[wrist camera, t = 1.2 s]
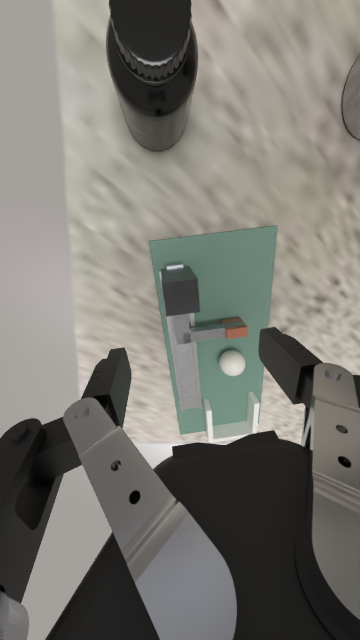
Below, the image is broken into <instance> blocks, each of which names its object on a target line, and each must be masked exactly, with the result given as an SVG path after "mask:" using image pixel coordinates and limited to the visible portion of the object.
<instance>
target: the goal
mask: <svg viewBox="0 0 360 640" xmlns="http://www.w3.org/2000/svg"><path fill="white" fill-rule="evenodd" d="M259 404H260V403H259V401H258V399H257V398H256V396H255V394H254V392H248V409H247V421H244V422H237V423H230V424H224V425H217V426H212V410H211V406H210V403H209V399H208V398H206V399H204V412H205V425H206V433H207V437H208V442H209V443H213V442H219V441H226V440H232V439H239V438H243V437H245V436H247V435H249V434H254V433H257V426H258V415H259Z"/></svg>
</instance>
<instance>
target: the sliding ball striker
mask: <svg viewBox="0 0 360 640" xmlns="http://www.w3.org/2000/svg"><path fill="white" fill-rule="evenodd" d="M161 284H162V291H163V298H164V304H165V311H166V317H168V316H173V319H174V327H175V334H176V341H177V345H181V344H188V343H191V342H198V341H206V340H213V339H220V338H227V339H232V338H239V337H246V336H248V326H247V325H246V324H245V323H244V322H243V320H242V319H241V318H240V317H236V318H229V319H222V320H221V324H215V325H208V326H201V327H193V328H190V327H189V317H188V314H190V313H198V312H200V303H199V289H198V278H197V277H196V275H195V274H194V272H193V271H192V269H191V268H190V266H189V265H188V266H183V263H182V262H177V263H169V264H166V268H164V269H161Z"/></svg>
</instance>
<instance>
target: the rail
mask: <svg viewBox="0 0 360 640" xmlns="http://www.w3.org/2000/svg"><path fill="white" fill-rule="evenodd" d="M159 274H160V280H161V270H159ZM161 287H162V284H161ZM162 293H163V291H162ZM163 300H164V298H163ZM164 306H165V304H164ZM165 313H166V311H165ZM188 317H189V327H190V328H193V327H195V321H194V313H190V314H188ZM166 320H167V326H168V333H169V339H170V346H171V352H172V359H173V366H174V372H175V379H176V385H177V392H178V398H179V405H180V410H181V412H184V409H190V408H197V407H198V408H199V410H200V409H202V403H201V391H200V380H199V368H198V356H197V344H196V342H191V343H188V344H181V345H177V341H176V334H175V327H174V319H173V316H168V317H166Z"/></svg>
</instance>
